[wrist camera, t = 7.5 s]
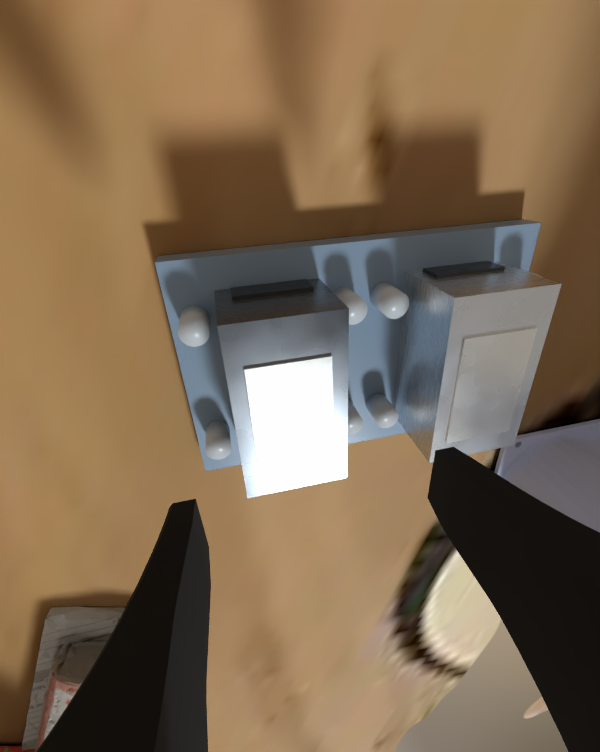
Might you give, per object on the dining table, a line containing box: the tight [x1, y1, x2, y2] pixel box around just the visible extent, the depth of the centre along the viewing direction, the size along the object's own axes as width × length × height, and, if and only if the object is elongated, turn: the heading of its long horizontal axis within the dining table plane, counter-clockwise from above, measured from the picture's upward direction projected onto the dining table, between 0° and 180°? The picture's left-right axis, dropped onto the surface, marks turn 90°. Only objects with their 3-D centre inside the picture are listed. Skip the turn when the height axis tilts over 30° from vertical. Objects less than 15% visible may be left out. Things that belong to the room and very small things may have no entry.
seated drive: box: [394, 261, 562, 463], centre depth 18 cm, size 4×8×4 cm, turn 3°
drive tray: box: [155, 219, 541, 471], centre depth 19 cm, size 17×11×3 cm, turn 93°
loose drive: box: [214, 278, 349, 498], centre depth 16 cm, size 4×8×4 cm, turn 3°
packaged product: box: [22, 606, 126, 752], centre depth 28 cm, size 18×5×10 cm
